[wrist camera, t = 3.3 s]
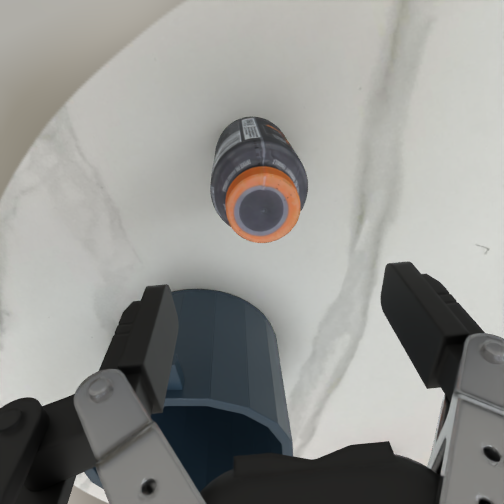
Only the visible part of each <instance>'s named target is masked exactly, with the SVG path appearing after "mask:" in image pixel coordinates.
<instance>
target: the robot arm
mask: <svg viewBox="0 0 504 504" xmlns="http://www.w3.org/2000/svg"><path fill="white" fill-rule="evenodd" d="M381 306H382V310H383V312H384V314H385V316H386V318H387V319H388V321H389V323H390V325H391V326H392V328H393V330H394V332H395V333H396V335H397V337H398V339H399V340H400V342H401V344H402V346H403V347H404V349H405V351H406V353H407V354H408V356H409V358H410V360H411V361H412V363H413V365H414V367H415V368H416V370H417V372H418V374H419V375H420V377H421V379H422V381H423V382H424V384H425V386H426V388H427V389H428V388H439V387H441V388H442V390H443V392H444V393H445V395H444V398H443V401H442V406H441V411H440V415H439V420H438V425H437V429H436V434H435V439H434V443H433V448H432V452H431V455H430V459H429V462H428V465H427V467H426V466H424V465H423V464H421V463H419V462H416V461H414V460H412V459H409V458H406V457H403V456H400V455H395V454H394V453H393V450H392V448H391V445H390V443H389V441H388V442H378V443H367V444H357V445H350V446H347V447H345V448H342V449H340V450H337V451H335V452H333V453H330V454H328V455H325V456H323V457H320V458H318V459H314V460H310V459H304V458H298V457H293V456H287V455H282V454H276V453H263V454H252V455H242V456H234V469H232V470H229V471H227V472H225V473H223V474H221V475H220V476H218V477H217V478H215V479H214V480H213V481H211V482H210V483H209V484H208V485H207V486H206V487H205V488H204V489H202V490H201V492H200V493H199V491H198V490H197V488H196V486H195V485H194V483H193V481H192V480H191V478H190V477H189V475H188V473H187V472H186V470H185V469H184V467H183V465H182V464H181V462H180V460H179V459H178V457H177V456H176V454H175V452H174V451H173V449H172V447H171V446H170V444H169V443H168V441H167V439H166V438H165V436H164V435H163V433H162V431H161V430H160V428H159V426H158V425H157V424H156V422H155V421H152V419H151V414H156V413H163V408H164V402H165V397H166V392H167V387H168V382H169V377H170V371H171V366H172V361H173V356H174V351H175V345H176V340H177V335H178V316H177V312H176V308H175V305H174V301H173V297H172V294H171V290H170V287H169V285H167V284H166V285H156V286H147V287H146V289H145V291H144V294H143V297H142V299H141V301H134V302H132V303H131V304H130V305H129V307H128V308H127V309H126V310H125V311H124V312H123V314H122V316H121V319H120V321H119V326H117V328H116V331H115V335H114V336H113V338H112V341H111V343H110V345H109V348H108V350H107V353H106V355H105V357H104V360H103V362H102V365H101V367H100V369H99V371H98V372H96V373H94V374H92V375H91V376H89V377H88V378H87V379H85V380H84V381H83V382H82V383H81V385H80V386H79V387H78V389H77V390H76V392H75V394H74V395H71V396H69V397H66V398H64V399H61V400H58V401H55V402H53V403H50V404H47V405H45V406H42V405H41V404H40V403H39V401H38V400H36V399H34V398H29V397H28V398H21V399H17V400H15V401H12V402H10V403H8V404H7V405H5V406H3V407H2V408H0V504H67V503H68V500H69V497H70V494H71V491H72V487H73V484H74V481H75V478H76V475H78V474H80V473H82V472H85V471H87V470H89V469H92V468H94V467H96V470H97V473H98V476H99V478H100V481H101V483H102V486H103V488H104V491H105V494H106V496H107V499H108V501H109V504H504V339H503V338H501V337H498V336H496V335H492V334H486V333H485V332H484V331H483V330H482V329H481V328H480V327H479V326H478V325H477V323H476V322H475V321H474V320H473V319H472V318H471V317H470V315H469V314H468V313H467V312H466V311H465V310H464V309H463V308H462V306H461V305H460V304H459V303H457V302H456V300H455V299H454V297H453V296H452V295H451V294H449V292H448V291H447V290H446V288H445V287H444V286H443V285H442V284H441V283H440V282H439V281H437V280H436V279H434V278H432V277H431V276H429V275H427V274H421V273H420V272H419V271H418V270H417V269H416V267H415V266H414V265H413V264H412V263H411V262H399V263H389V264H387V265H386V268H385V273H384V279H383V285H382V291H381Z"/></svg>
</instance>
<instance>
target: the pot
mask: <svg viewBox="0 0 504 504" xmlns="http://www.w3.org/2000/svg"><path fill="white" fill-rule="evenodd" d="M171 294H172V297H173V301H174V305H175V308H176V312H177V316H178V335H177V340H176V345H175V351H174V356H173V361H172V366H171V371H170V377H169V382H168V387H167V392H166V397H165V402H164V408H163V413H156V414H151V419H152V421H155V422H156V424H157V425H158V426H159V428H160V430H161V431H162V433H163V435H164V436H165V438H166V439H167V441H168V443H169V444H170V446H171V447H172V449H173V451H174V452H175V454H176V456H177V457H178V459H179V460H180V462H181V464H182V465H183V467H184V469H185V470H186V472H187V473H188V475H189V477H190V478H191V480H192V481H193V483H194V485H195V486H196V488H197V490H198V491H199V493H200V492H201V490H202V489H204V488H205V487H206V486H207V485H208V484H209V483H210V482H211V481H213V480H214V479H215V478H217V477H218V476H220V475H221V474H223V473H225V472H227V471H229V470H232V469H234V456H242V455H252V454H263V453H276V454H282V455H287V456H293V445H292V436H291V430H290V423H289V417H288V411H287V404H286V398H285V391H284V385H283V379H282V372H281V366H280V359H279V353H278V347H277V340H276V335H275V333H274V331H273V328H272V326H271V324H270V323H269V321H268V319H267V318H266V317H265V316H264V315H263V313H261V312H260V311H259V310H258V309H257V308H256V307H254V306H253V305H252V304H250V303H249V302H247V301H245V300H243V299H241V298H239V297H236V296H234V295H231V294H228V293H224V292H220V291H214V290H206V289H189V290H180V291H174V292H171ZM85 474H86V475H87V476H88V478H89V479H90V480H91V482H93V483H94V484H96V485H98V486H99V487H101V488H103V486H102V483H101V481H100V478H99V476H98V473H97V470H96V467H94V468H92V469H89V470H87V471H85ZM103 489H104V488H103Z"/></svg>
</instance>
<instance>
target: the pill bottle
mask: <svg viewBox="0 0 504 504" xmlns="http://www.w3.org/2000/svg"><path fill="white" fill-rule="evenodd" d="M307 192H308V180H307V175H306V172H305V169H304V166H303V165H302V163H301V161H300V159H299V158H298V156H297V154H296V153H295V151H294V150H293V148H292V147H291V145H290V143H289V142H288V141H287V139H286V137H285V136H284V134H283V133H282V132H281V130H280V129H279V128H278V127H277V126H276V125H274V124H273V123H271V122H270V121H268V120H266V119H263V118H259V117H245V118H242V119H239V120H236V121H235V122H233V123H231V124H230V125H229V126H228V127H227V128H226V129H225V130H224V131H223V133H222V134H221V136H220V138H219V140H218V142H217V146H216V151H215V158H214V164H213V169H212V175H211V198H212V202H213V205H214V207H215V209H216V211H217V213H218V214H219V216H220V217H221V218H222V220H223V221H224V222H225V223H227V224H228V225H229V226H230V227H232V229H233V230H234V231H235V232H236V233H237V234H238V235H239V236H241V237H242V238H244V239H246V240H249V241H252V242H257V243H267V242H272V241H275V240H278V239H280V238H282V237H283V236H285V235H286V234H288V233H289V232H290V231H291V230H292V228H293V227H294V226H295V224H296V223H297V221H298V218H299V215H300V211H301V210H302V208H303V206H304V204H305V201H306V197H307Z"/></svg>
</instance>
